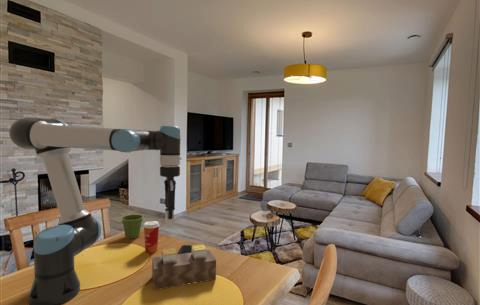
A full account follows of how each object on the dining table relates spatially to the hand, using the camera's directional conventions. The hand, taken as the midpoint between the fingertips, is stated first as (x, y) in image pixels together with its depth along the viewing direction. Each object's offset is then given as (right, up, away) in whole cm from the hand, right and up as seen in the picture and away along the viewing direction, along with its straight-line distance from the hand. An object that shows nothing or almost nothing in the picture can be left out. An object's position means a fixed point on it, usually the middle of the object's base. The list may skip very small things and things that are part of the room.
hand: (169, 225), depth 106 cm
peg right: (+11, -18, +5) cm, 21 cm away
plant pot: (-33, -19, +46) cm, 59 cm away
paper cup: (-16, -21, +28) cm, 39 cm away
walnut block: (+5, -23, +4) cm, 23 cm away
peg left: (-1, -17, +1) cm, 18 cm away
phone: (+1, -22, +27) cm, 34 cm away
